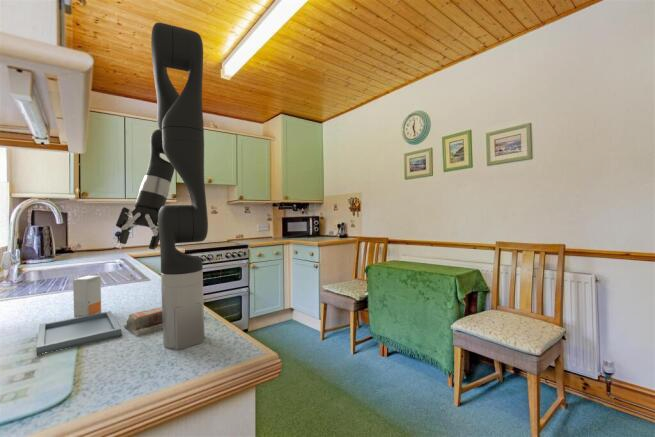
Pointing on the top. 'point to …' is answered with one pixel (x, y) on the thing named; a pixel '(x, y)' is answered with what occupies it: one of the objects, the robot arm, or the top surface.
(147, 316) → the packaged product
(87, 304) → the skincare box
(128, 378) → the top surface
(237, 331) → the top surface
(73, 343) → the tray
